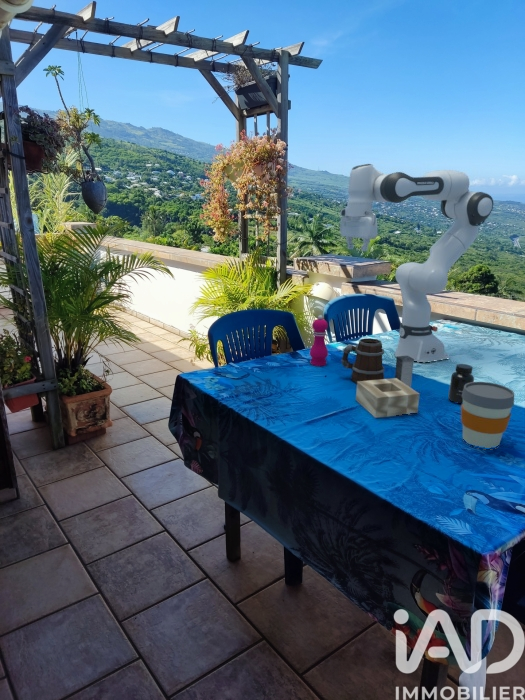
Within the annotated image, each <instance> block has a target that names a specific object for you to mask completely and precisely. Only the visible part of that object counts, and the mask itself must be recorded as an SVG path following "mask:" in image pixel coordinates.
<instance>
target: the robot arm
mask: <svg viewBox="0 0 525 700" xmlns="http://www.w3.org/2000/svg"><path fill="white" fill-rule="evenodd" d="M469 188H470V178H469V176H468V175H467V174H466V173H465V172H463V171H459V170H453V169H452V170H451V169H440V170H433V171H430V172H426V173H424V175H423V176H418V177H417V176H416V177H414V176H410V175H408V174H407V173H405V172H403V171H402V172H401V171H396V172H392V173H386V174H385V173H383V172H381V171H379V170H378V169H376V168H375V167H374V165H373V164H371V163H366V164H365V163H364V164H360V165H356V166H353V167H352V168H351V170H350V172H349V179H348V188H347V189H348V190H347V191H348V200H347V206H346V207H344V208H343V209H341V210H340V224H339V225H340V227H339V228H340V229H339V230H340V231H339V233H340V236H341V237H345V239H346V240H345V241H346V243H347V249H348V250H354V248H355V247H354V244H353V239H354V238H356V239H362V242H363V244H362V245H361V247H360V248H361V249H360V251H361V252H368V246H369V245H370V242H371V240H376V239H377V237H378V220H377V216H376V214H375V212H373V202H375V203H393V204H398V203H402V202H404V201H406V200H407V199H410V198H412V197H420V196H421V198H423V200H426V201H435V202H438V201H439V202H440V201H441V202H440V212H441V215H443V216H444V217H445V218H447V219H450V220H453V223H452V226H450V228H448V230H446V231H445V232H444V233H443V234H442V236H440V237H439V239H438V240H436V242H434V243H433V245H431V247H430V249H429V256H428V258H427V260H426V261H424V262H423V263H420V262H415V261H414V262H413V261H409V262H405V263H402V264H401V265H399V266H398V267H397V269H396V271H395V281H396V282H397V284H398V286H399V288H400V289H399V290H400V292H401V300H402V313H401V314H402V316H401V322H400V325H399V337H398V338H399V339H398V343H397V347H396V349H395V352H394V354H395V355H394V357H396V356H409V357H411V358H413V359H414V361H417V362H416V363H419V362H428V361H434V360H441V359H447V358H450V359H451V357H450V355H449V354H448V353H446V352H445V351H446V349H445V344H444V343H443V342H442V340H441V339H439V338H438V337H437V336H436V335H434V334H433V332H434V333H436V332H438V331H439V330H438V329H439V328H438V326H435V325H433V326H432V325H431V323H430V322H431V313H432V306H431V303H430V302H429V300H428V297H427V295H429V294H430V295H433V294H434V295H435V294H440V293H441V292H442V291H444V289H446V287H447V285H448V273H449V271H450V269H451V268H452V267H453V265H454V264H455V263H456V262H457V261H458V260H459V258H460V257H461V256H463V255H464V254H465V252H466V251H468V249H469V248H470V247H471V246H472V244H473V243H474V242H475V240H476V238H477V237H478V236H479V230H480V229H479V227H478V226H481V225H483V224H484V223H485V222H486V220H487V219H488V218H489V217H490V214H492V211H493V209H494V199H493V197H492V196H491V195H490V194H488V193H487V192H483V191H471V190H470V189H469Z"/></svg>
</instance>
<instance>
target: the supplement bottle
mask: <svg viewBox="0 0 525 700" xmlns="http://www.w3.org/2000/svg"><path fill="white" fill-rule="evenodd" d="M472 373H473V366H472V365H469V364H466V363H459V364H456V365H455V371H454V372H453V373H452V374H451V377H450V383H449V389H448V396H447V397H448V398H449V399H450V400H451V401H454V402H458V403H463V398H462V392H463V389H464V385H465V384H467V383H470V382H475V377H474V375H473V374H472ZM449 399H448V400H449ZM450 400H449V401H450ZM451 401H450V402H451ZM454 402H453V403H454Z"/></svg>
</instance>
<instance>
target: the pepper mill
mask: <svg viewBox="0 0 525 700" xmlns="http://www.w3.org/2000/svg"><path fill="white" fill-rule="evenodd" d="M311 325H312V326H311V327H312V329H313V336H314V339H313V343H312V345H311V348H310V350H309V356H310V357H311V359H310V365H312V366H314V367H324V366H326V365H327V359H326V358H327V357H328V355H329V352H328V348H327V345H326V343H325V337H326V335H327V329H328V328H329V327H328V326H329V324H328V321H326V320H325V318H323V315H322V314H319V315H318V316H317V319H315V320H313V322H312V324H311Z"/></svg>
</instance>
